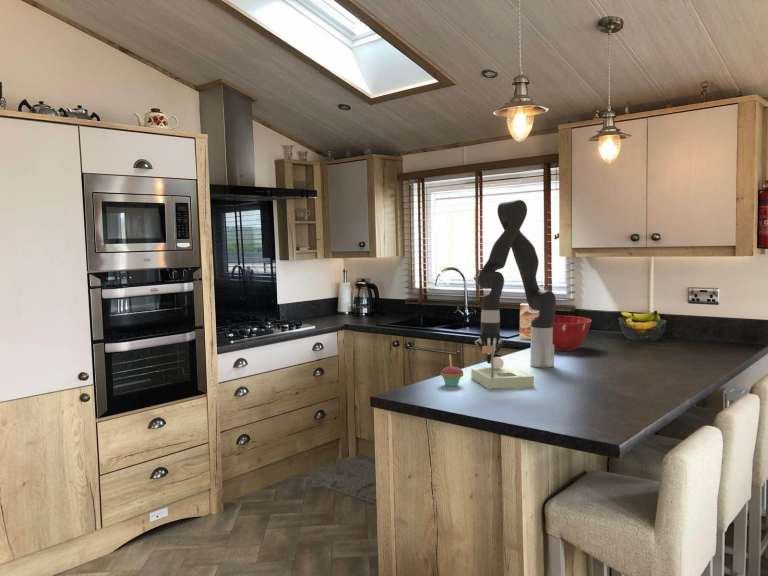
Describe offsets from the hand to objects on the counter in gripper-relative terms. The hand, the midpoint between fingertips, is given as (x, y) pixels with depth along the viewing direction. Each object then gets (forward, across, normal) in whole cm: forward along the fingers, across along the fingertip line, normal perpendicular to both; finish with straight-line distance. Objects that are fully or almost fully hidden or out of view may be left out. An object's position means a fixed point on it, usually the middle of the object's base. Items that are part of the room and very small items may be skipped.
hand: (489, 363), depth 254 cm
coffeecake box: (+5, -58, -88) cm, 105 cm away
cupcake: (+5, +20, +13) cm, 25 cm away
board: (+5, 0, +13) cm, 14 cm away
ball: (-1, 0, +8) cm, 8 cm away
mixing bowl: (+5, -58, -54) cm, 79 cm away
